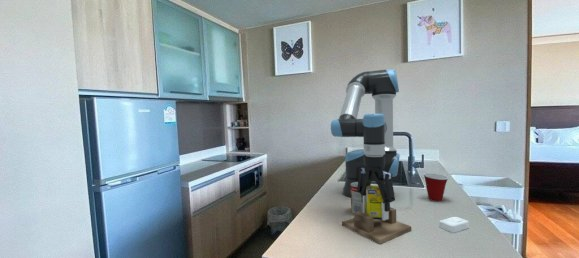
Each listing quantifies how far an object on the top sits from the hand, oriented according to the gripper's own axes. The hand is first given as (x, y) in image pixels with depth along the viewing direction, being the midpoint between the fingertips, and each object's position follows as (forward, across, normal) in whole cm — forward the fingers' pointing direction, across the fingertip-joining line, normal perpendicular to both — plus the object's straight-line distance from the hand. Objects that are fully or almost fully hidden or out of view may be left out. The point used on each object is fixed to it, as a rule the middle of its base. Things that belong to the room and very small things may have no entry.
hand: (375, 215), depth 97 cm
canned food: (+5, -15, +8) cm, 18 cm away
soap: (+5, +16, +23) cm, 29 cm away
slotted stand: (+5, 0, 0) cm, 5 cm away
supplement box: (0, 0, 0) cm, 0 cm away
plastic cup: (+5, -4, +48) cm, 49 cm away
